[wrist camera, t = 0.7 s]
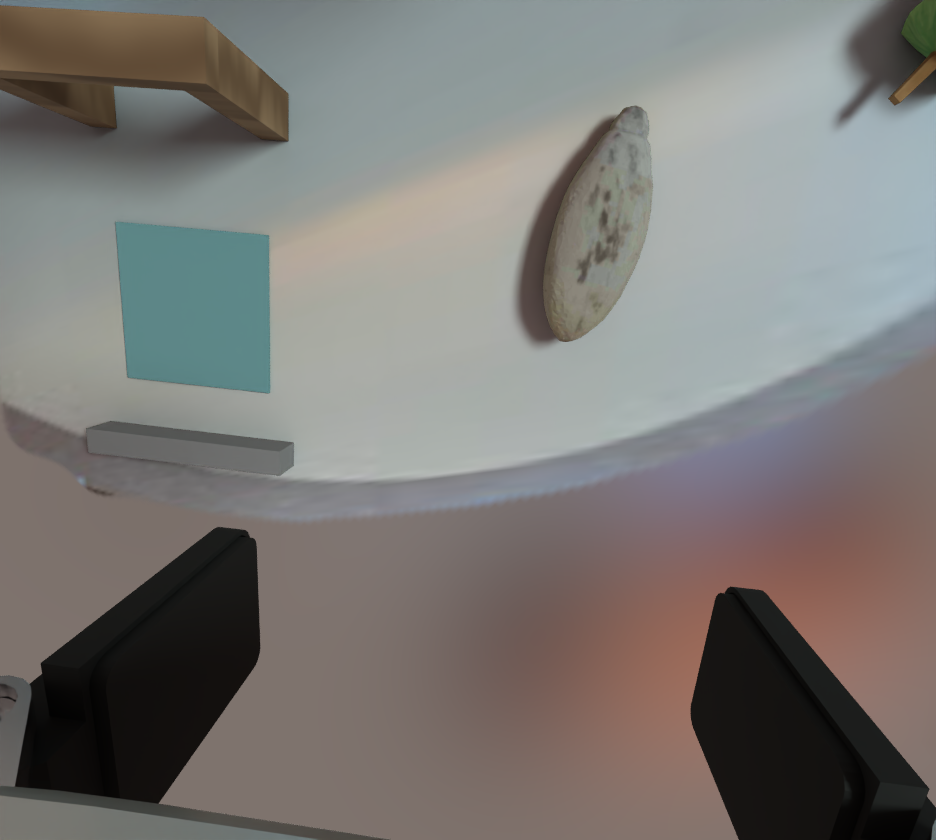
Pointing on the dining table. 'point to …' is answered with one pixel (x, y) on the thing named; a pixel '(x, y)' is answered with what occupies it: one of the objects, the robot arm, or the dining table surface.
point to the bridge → (132, 65)
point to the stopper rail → (191, 447)
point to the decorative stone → (599, 228)
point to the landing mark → (195, 305)
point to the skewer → (919, 46)
